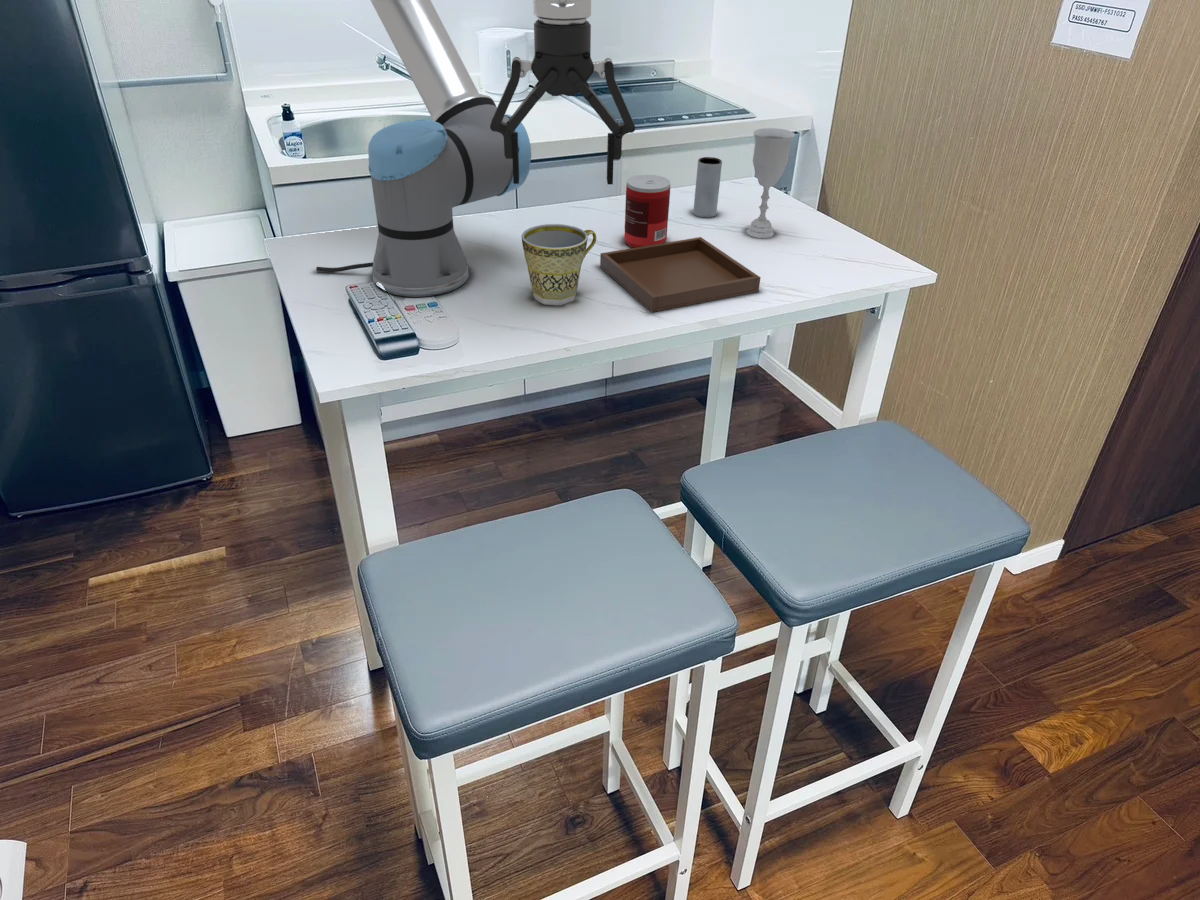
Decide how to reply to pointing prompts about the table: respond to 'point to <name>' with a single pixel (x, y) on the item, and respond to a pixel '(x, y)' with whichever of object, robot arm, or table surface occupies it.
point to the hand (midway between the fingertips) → (563, 181)
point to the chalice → (768, 171)
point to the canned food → (646, 210)
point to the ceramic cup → (555, 260)
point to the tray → (678, 273)
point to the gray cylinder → (707, 186)
